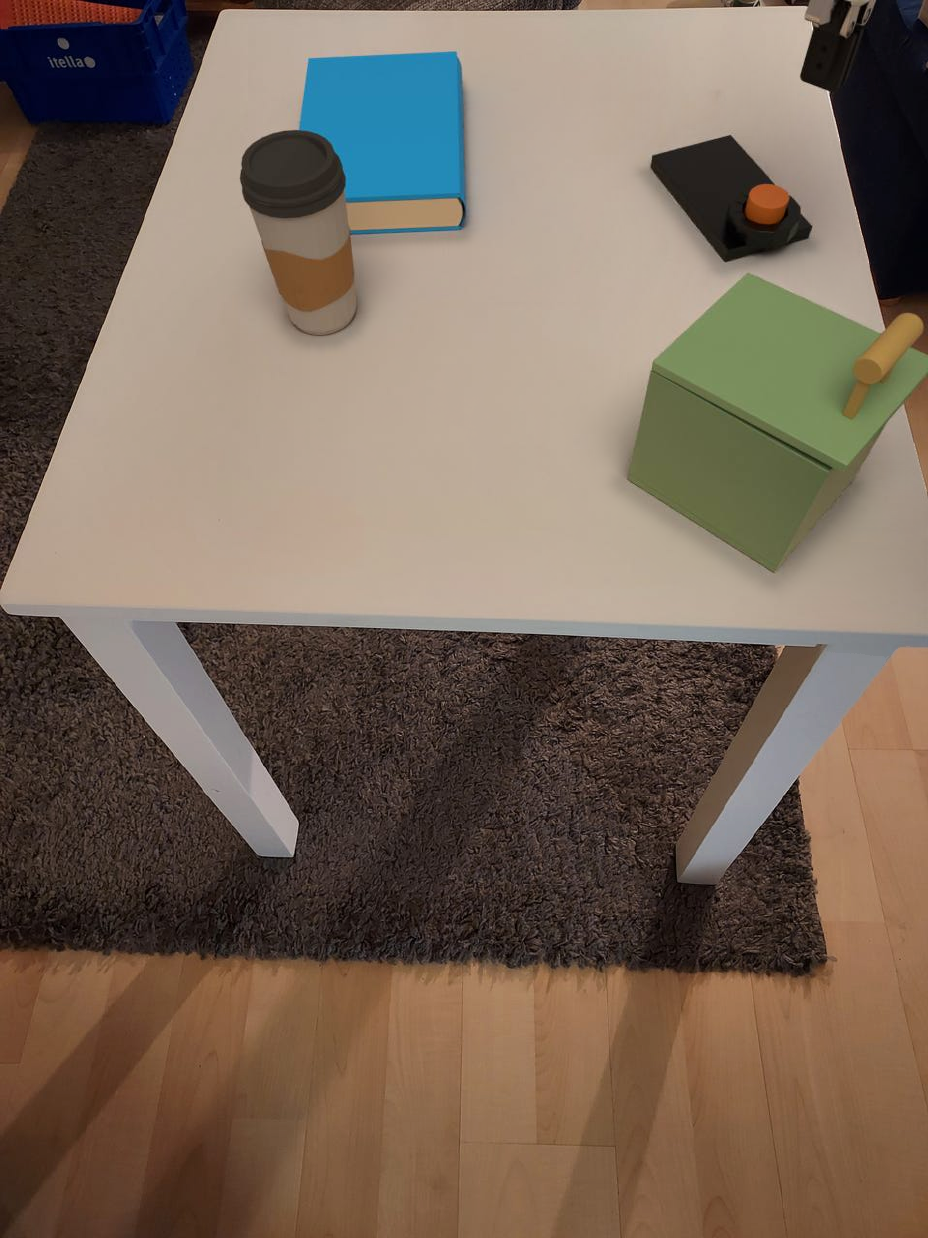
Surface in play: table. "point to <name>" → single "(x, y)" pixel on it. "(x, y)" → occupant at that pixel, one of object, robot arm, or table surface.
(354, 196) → the book
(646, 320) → the table surface
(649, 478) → the chest
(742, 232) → the button housing
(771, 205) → the button
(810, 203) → the table surface
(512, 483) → the table surface
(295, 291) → the coffee cup
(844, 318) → the lid
